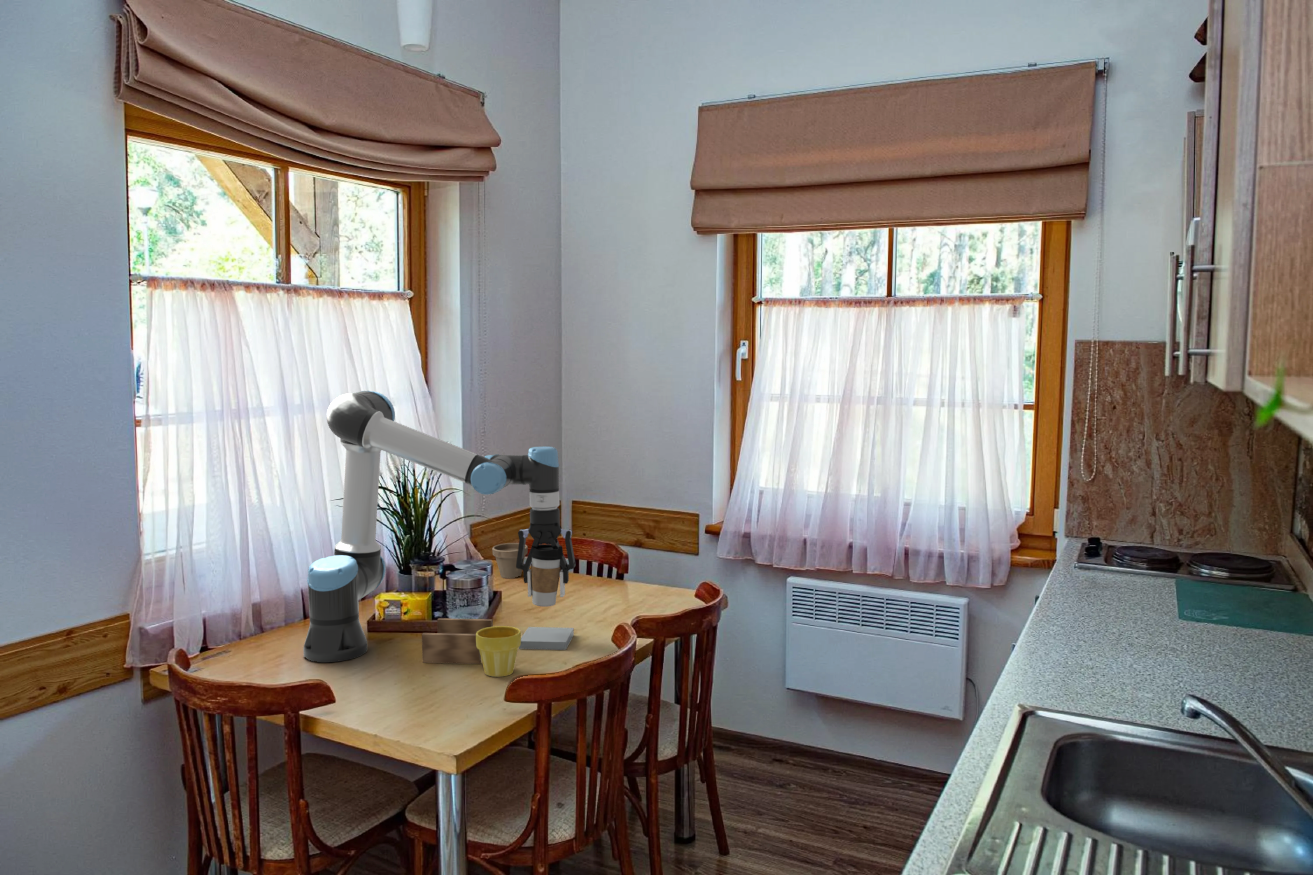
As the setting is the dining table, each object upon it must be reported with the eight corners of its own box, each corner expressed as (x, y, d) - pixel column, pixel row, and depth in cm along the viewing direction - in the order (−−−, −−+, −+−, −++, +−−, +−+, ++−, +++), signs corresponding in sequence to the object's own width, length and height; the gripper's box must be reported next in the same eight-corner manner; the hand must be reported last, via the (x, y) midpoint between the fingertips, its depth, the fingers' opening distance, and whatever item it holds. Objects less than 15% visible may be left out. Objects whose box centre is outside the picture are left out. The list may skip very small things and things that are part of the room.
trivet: (518, 648, 241) (518, 641, 241) (528, 634, 253) (528, 626, 252) (565, 649, 240) (565, 642, 240) (573, 635, 252) (573, 627, 252)
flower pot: (507, 582, 307) (507, 551, 306) (486, 576, 314) (485, 546, 313) (535, 576, 315) (534, 546, 314) (513, 570, 323) (513, 541, 322)
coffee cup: (553, 609, 240) (557, 551, 238) (522, 605, 242) (525, 547, 240) (564, 600, 248) (568, 544, 247) (534, 596, 250) (537, 540, 248)
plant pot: (501, 661, 231) (500, 622, 230) (530, 670, 225) (529, 630, 224) (467, 673, 223) (466, 632, 222) (497, 683, 217) (496, 641, 216)
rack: (422, 662, 231) (421, 634, 230) (439, 644, 244) (438, 618, 243) (479, 663, 230) (478, 635, 229) (493, 646, 243) (492, 619, 242)
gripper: (501, 510, 240) (503, 598, 242) (582, 510, 238) (583, 599, 240) (508, 504, 247) (510, 591, 250) (586, 505, 246) (588, 592, 248)
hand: (546, 595), depth 245 cm, fingers closed on coffee cup, 8 cm apart
